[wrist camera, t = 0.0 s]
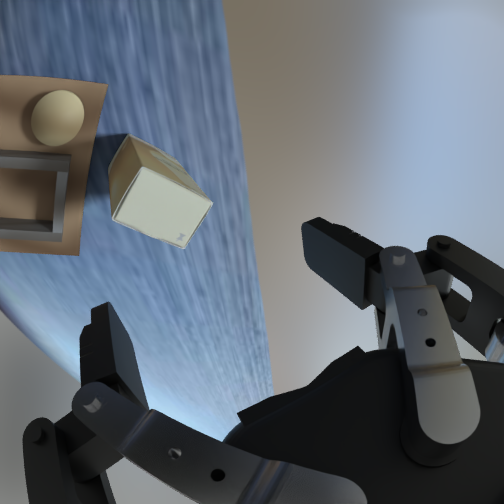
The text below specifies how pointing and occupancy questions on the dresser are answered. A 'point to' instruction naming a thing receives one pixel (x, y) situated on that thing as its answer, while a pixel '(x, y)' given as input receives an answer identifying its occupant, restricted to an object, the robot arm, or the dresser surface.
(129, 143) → the skincare box
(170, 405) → the dresser surface
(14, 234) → the carrier plate
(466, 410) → the robot arm
